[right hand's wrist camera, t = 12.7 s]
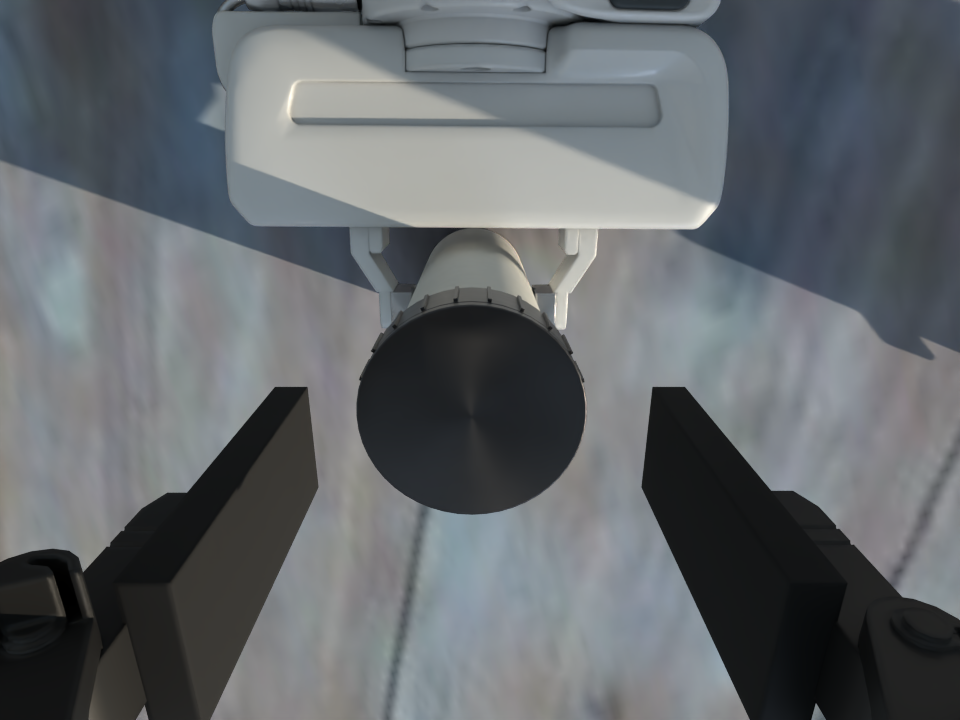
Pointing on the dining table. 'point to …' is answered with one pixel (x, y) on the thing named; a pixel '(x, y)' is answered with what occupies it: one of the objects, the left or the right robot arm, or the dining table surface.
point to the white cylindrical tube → (474, 266)
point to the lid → (471, 402)
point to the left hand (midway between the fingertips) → (474, 326)
